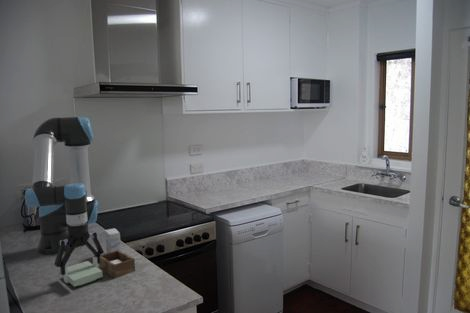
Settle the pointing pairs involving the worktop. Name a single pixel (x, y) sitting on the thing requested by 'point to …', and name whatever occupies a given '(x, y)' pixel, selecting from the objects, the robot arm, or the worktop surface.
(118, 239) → the ink box
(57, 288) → the worktop surface
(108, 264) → the box
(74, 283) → the lid
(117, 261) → the soap bar
